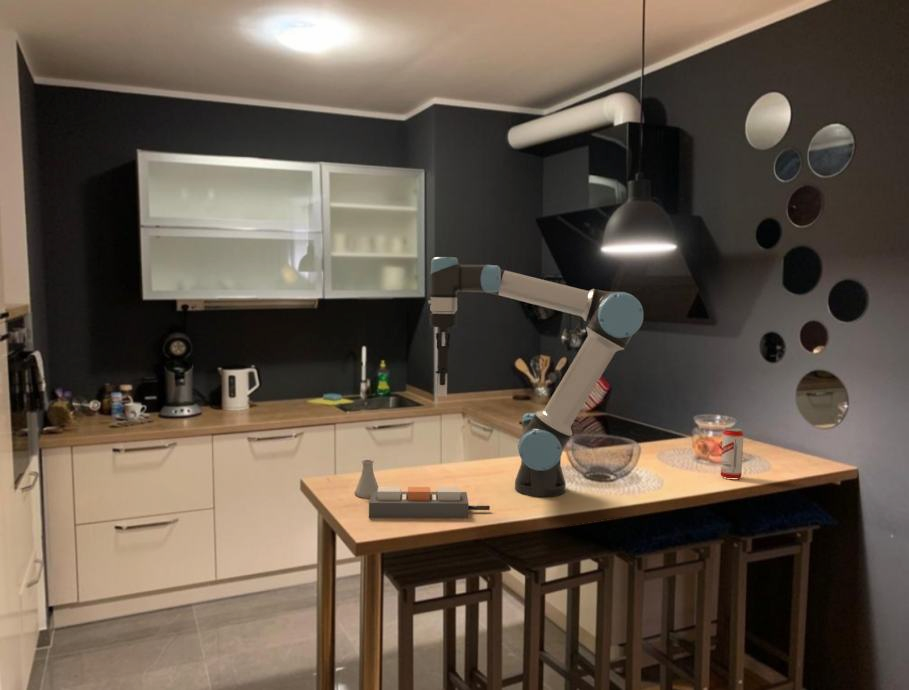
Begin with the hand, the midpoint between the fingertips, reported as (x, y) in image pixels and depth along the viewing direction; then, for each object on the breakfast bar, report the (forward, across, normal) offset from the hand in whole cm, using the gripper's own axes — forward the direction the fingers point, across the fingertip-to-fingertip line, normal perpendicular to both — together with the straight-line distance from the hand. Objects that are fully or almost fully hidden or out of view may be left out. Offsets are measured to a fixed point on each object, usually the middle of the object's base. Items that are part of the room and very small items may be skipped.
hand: (442, 395), depth 202 cm
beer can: (+30, -22, +94) cm, 101 cm away
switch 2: (+27, +13, -6) cm, 31 cm away
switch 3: (+27, +13, +2) cm, 30 cm away
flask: (+30, -2, -21) cm, 36 cm away
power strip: (+29, +13, -3) cm, 32 cm away
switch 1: (+27, +13, -14) cm, 33 cm away
